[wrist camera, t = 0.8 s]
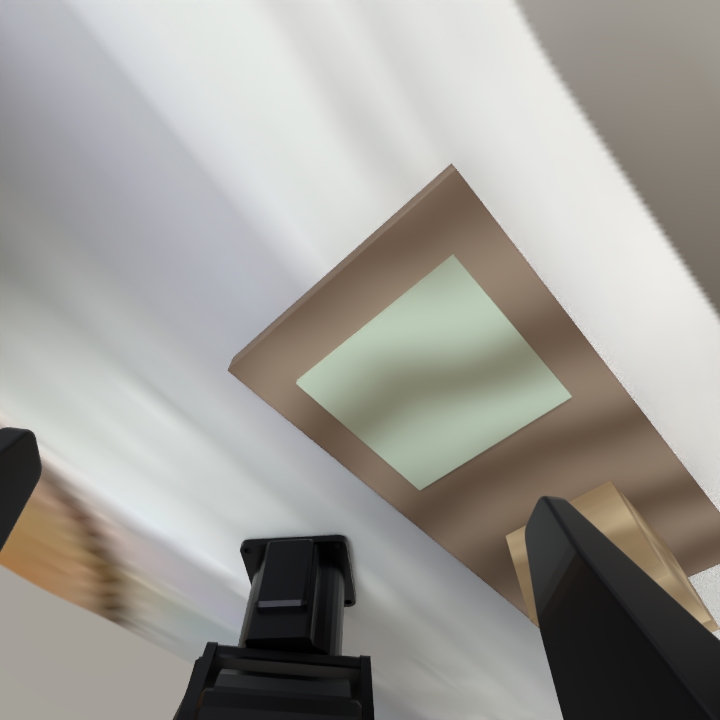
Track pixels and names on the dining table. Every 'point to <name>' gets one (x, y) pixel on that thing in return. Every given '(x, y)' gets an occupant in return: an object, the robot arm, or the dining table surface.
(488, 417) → the board
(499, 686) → the dining table surface
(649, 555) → the collar
